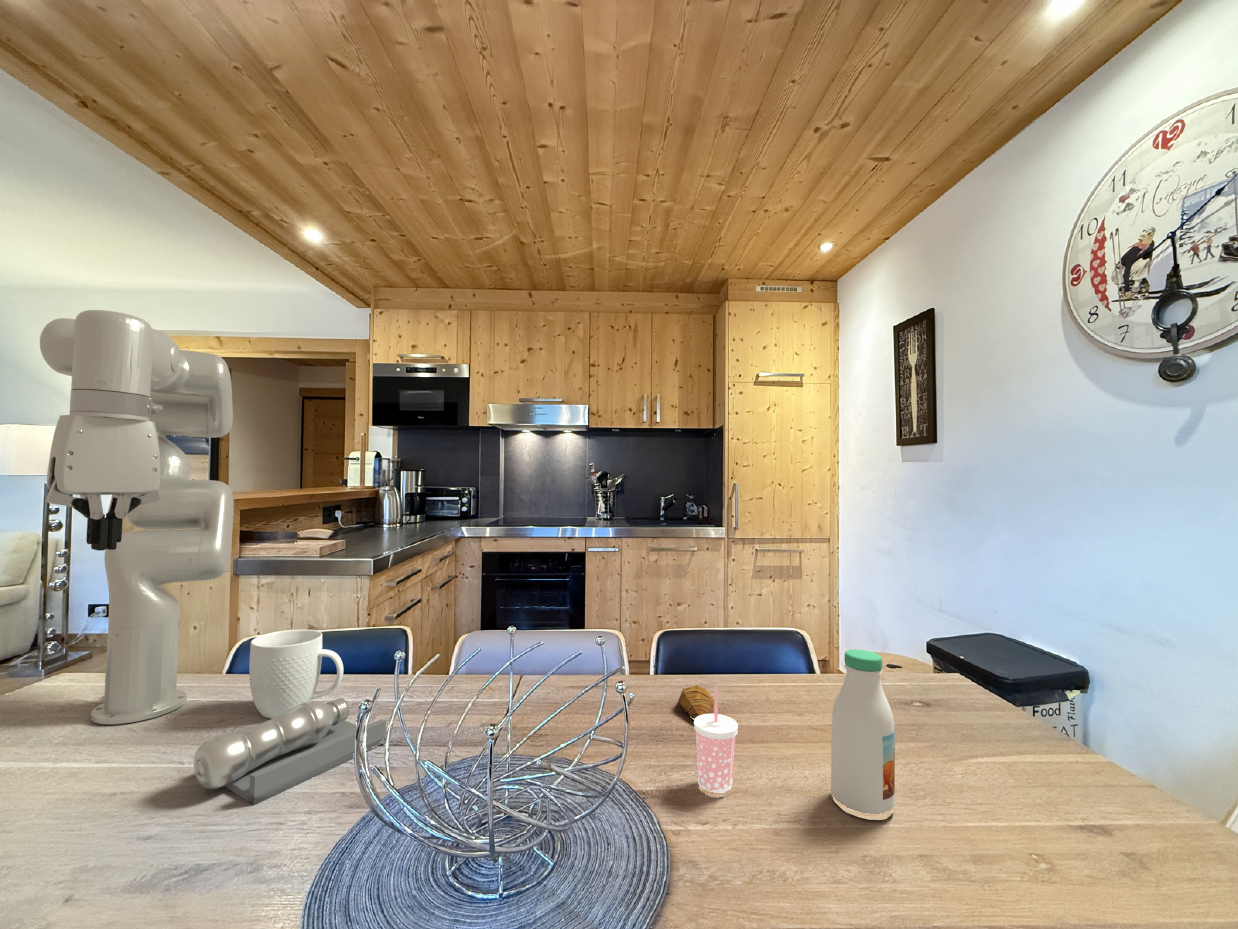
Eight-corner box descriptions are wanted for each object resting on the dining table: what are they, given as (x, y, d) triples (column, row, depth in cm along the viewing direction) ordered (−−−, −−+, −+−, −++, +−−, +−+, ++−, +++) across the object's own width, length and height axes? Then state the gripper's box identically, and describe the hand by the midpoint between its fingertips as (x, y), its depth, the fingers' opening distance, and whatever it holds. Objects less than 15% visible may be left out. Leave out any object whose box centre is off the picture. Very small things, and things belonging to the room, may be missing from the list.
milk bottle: (867, 830, 66) (869, 666, 66) (818, 796, 72) (819, 648, 73) (907, 813, 69) (908, 658, 70) (856, 783, 76) (857, 642, 77)
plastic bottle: (212, 749, 67) (355, 692, 85) (185, 739, 70) (328, 686, 88) (212, 801, 67) (356, 733, 85) (186, 789, 70) (329, 725, 88)
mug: (349, 695, 102) (352, 627, 103) (332, 721, 91) (335, 644, 92) (263, 700, 99) (266, 630, 99) (234, 727, 88) (237, 648, 89)
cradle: (207, 776, 74) (209, 750, 74) (338, 723, 90) (339, 703, 90) (253, 805, 68) (255, 777, 68) (385, 743, 84) (386, 721, 84)
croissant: (673, 697, 106) (673, 672, 106) (707, 697, 106) (707, 672, 106) (683, 729, 92) (684, 700, 92) (722, 729, 92) (722, 700, 92)
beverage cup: (710, 771, 78) (711, 675, 79) (746, 789, 74) (747, 687, 74) (683, 787, 74) (685, 685, 74) (720, 807, 69) (721, 699, 70)
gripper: (169, 416, 78) (162, 542, 77) (18, 402, 65) (9, 552, 64) (192, 414, 74) (186, 546, 73) (37, 398, 61) (27, 558, 60)
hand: (103, 548), depth 69 cm, fingers closed
